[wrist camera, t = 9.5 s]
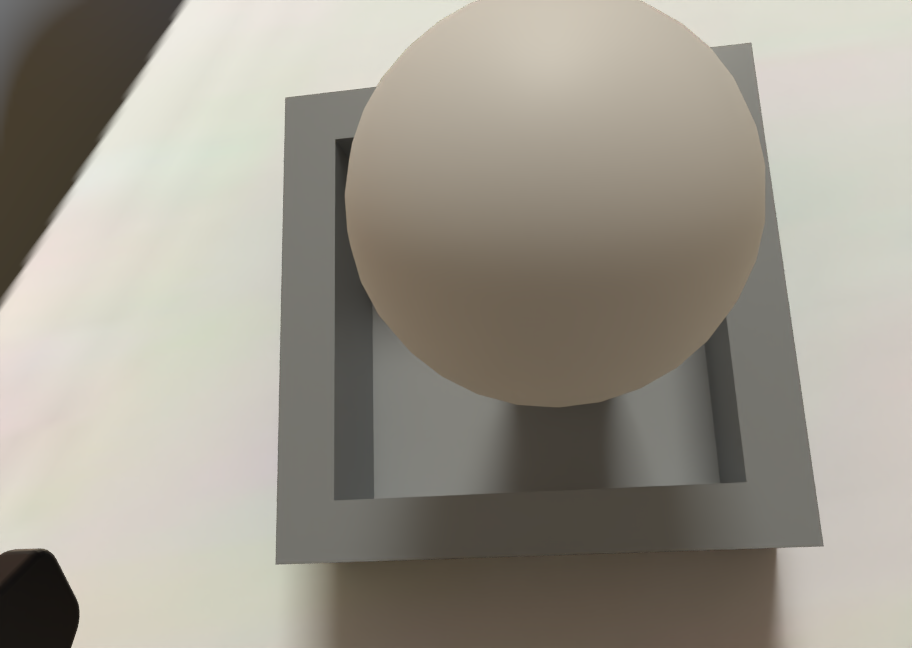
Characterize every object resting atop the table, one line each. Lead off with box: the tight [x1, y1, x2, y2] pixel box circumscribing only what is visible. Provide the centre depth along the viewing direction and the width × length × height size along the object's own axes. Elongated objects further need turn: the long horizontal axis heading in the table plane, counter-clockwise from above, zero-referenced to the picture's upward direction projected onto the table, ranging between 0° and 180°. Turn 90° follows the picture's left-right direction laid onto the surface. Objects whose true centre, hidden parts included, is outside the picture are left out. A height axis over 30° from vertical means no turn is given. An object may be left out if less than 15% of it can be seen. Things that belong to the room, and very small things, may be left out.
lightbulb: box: [345, 0, 765, 408], centre depth 15 cm, size 6×6×11 cm
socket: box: [276, 43, 823, 564], centre depth 19 cm, size 10×10×4 cm
